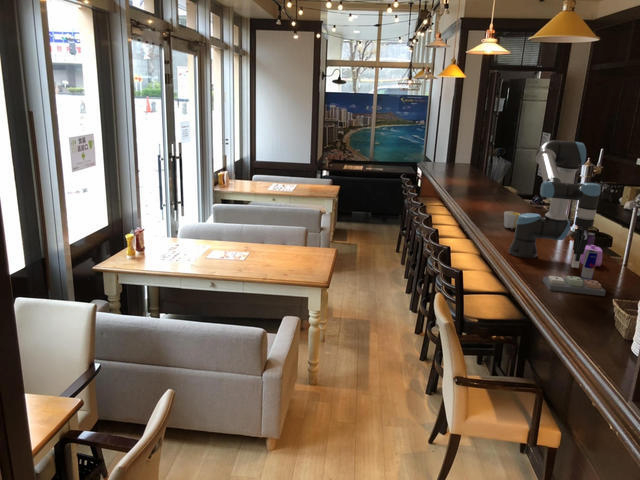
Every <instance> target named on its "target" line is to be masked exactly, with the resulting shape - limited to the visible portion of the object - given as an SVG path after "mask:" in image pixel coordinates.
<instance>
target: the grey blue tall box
mask: <svg viewBox="0 0 640 480" xmlns="http://www.w3.org/2000/svg"><path fill="white" fill-rule="evenodd" d="M597 255H598V252H597V251H594V250H586V255H585V259H584V264H582V268H581V269H582V270H581V273H580V274H581V275H580V278H581V279H582V280H583V281H584V280H593V277H594V272H595V268H596V266H595V264H596V259H597Z"/></svg>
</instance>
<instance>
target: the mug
mask: <svg viewBox="0 0 640 480" xmlns="http://www.w3.org/2000/svg"><path fill="white" fill-rule="evenodd" d="M503 215H504V216H503V225H504V228H506V229H508V228H511V229H510V230H514V229H516V222H517V219H518V216H519V215H521V213H519V212H516V211H510V210H509V211H508V210H507V211H504V213H503ZM513 228H514V229H513Z"/></svg>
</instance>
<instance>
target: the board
mask: <svg viewBox="0 0 640 480" xmlns="http://www.w3.org/2000/svg"><path fill="white" fill-rule="evenodd" d="M548 277H549V276H543V279H542V282H543V283H544V285H545V286H546V287H547V289H548V291H554V292H555V291H556V292H565V293H573V294H583V295H584V294H585V295H591V296H592V295H593V296H601V297H605V296H606V292H607V291H606V290H605V288H603V287H602V286H601V288H600V289H599V288H590V287H586V286H585V285H584V284H583V285H582V287H580V286H571V285H568V284H567V283H566V278H562V279H563V280H564V281H565V282H564V285H562V284H553V283H550V282H549V281H548ZM583 283H584V280H583Z"/></svg>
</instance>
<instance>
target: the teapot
mask: <svg viewBox="0 0 640 480" xmlns="http://www.w3.org/2000/svg"><path fill="white" fill-rule="evenodd" d="M586 250H594V251H597V252H598V255H597V259H596V264H595V267H597V266H599V267H601V265H602V262H603V250H602V248H601V247H600V246H596V245H590V246H588V245H586V247H585V250H584V254H582V255H581V258H580V264H581V265H583V264H584V259H585V255H586Z"/></svg>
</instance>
